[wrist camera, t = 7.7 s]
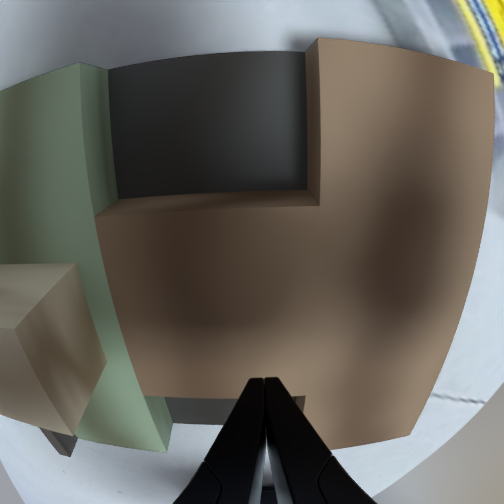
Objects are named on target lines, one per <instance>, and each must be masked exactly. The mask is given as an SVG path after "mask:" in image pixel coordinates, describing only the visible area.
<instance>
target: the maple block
mask: <svg viewBox="0 0 504 504" xmlns="http://www.w3.org/2000/svg"><path fill="white" fill-rule="evenodd" d="M106 364H107V360H106V357H105V354H104V351H103V349H102V346H101V343H100V340H99V337H98V335H97V332H96V329H95V326H94V323H93V319H92V316H91V313H90V310H89V307H88V303H87V300H86V297H85V293H84V290H83V286H82V283H81V279H80V275H79V271H78V267H77V263H51V264H0V414H1V415H4V416H6V417H9V418H12V419H15V420H18V421H21V422H24V423H27V424H30V425H33V426H37V427H40V428H44V429H47V430H51V431H54V432H58V433H62V434H66V435H70V436H74V434H75V432H76V429H77V427H78V425H79V422H80V420H81V418H82V415H83V413H84V411H85V409H86V406H87V404H88V402H89V400H90V398H91V395H92V393H93V391H94V389H95V387H96V385H97V383H98V380H99V378H100V376H101V374H102V372H103V370H104V368H105V366H106Z"/></svg>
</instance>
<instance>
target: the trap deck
mask: <svg viewBox="0 0 504 504" xmlns="http://www.w3.org/2000/svg"><path fill="white" fill-rule="evenodd" d="M494 121H495V98H494V74H493V73H490V72H488V71H485V70H482V69H479V68H476V67H473V66H469V65H466V64H463V63H460V62H456V61H453V60H449V59H445V58H442V57H438V56H434V55H430V54H425V53H421V52H417V51H412V50H407V49H402V48H397V47H391V46H386V45H380V44H373V43H366V42H359V41H350V40H341V39H330V38H317V39H316V40H315V41H314V43H313V44H312V45H311V46H310V47H309V48H308V49H307V50H306V52H281V51H265V52H233V53H217V54H205V55H195V56H186V57H177V58H170V59H163V60H156V61H150V62H144V63H139V64H133V65H128V66H123V67H118V68H114V69H109V70H107V69H103V68H100V67H96V66H92V65H88V64H84V63H76V64H73V65H69V66H66V67H63V68H60V69H57V70H54V71H51V72H48V73H45V74H42V75H39V76H37V77H34V78H31V79H29V80H26V81H24V82H21V83H18V84H16V85H14V86H11V87H9V88H6V89H4V90H2V91H0V264H51V263H77V267H78V271H79V275H80V279H81V283H82V286H83V290H84V293H85V297H86V300H87V303H88V307H89V310H90V313H91V316H92V319H93V323H94V326H95V329H96V332H97V335H98V337H99V340H100V343H101V346H102V349H103V351H104V354H105V357H106V360H107V364H106V366H105V368H104V370H103V372H102V374H101V376H100V378H99V380H98V383H97V385H96V387H95V389H94V391H93V393H92V395H91V398H90V400H89V402H88V404H87V406H86V409H85V411H84V413H83V415H82V418H81V420H80V422H79V425H78V427H77V429H76V432H75V434H74V436H70V435H66V434H62V433H58V432H54V431H51V430H47V429H44V428H40V427H39V428H40V429H41V431H42V432H43V433H44V435H45V436H46V437H47V439H48V440H49V441H50V443H51V444H52V445H53V447H54V448H55V449H56V450H57V452H58V453H59V454H61V455H65V456H68V457H71V454H72V452H73V449H74V447H75V444H76V442H77V439H78V438H79V439H83V440H88V441H93V442H98V443H103V444H108V445H114V446H120V447H126V448H133V449H140V450H148V451H157V452H167V450H168V445H169V440H170V435H171V430H172V425H173V423H183V424H205V425H224V424H225V422H226V420H227V418H228V416H229V415H230V413H231V411H232V409H233V407H234V406H235V404H236V402H237V400H238V398H239V396H240V395H241V393H242V391H243V389H244V387H245V385H246V384H247V382H248V380H249V379H250V378H256V377H262V378H263V379H264V378H265V377H278V378H279V379H280V380H281V381H282V383H283V384H284V386H285V387H286V389H287V390H288V392H289V393H290V395H291V396H292V398H293V399H294V400H295V402H296V403H297V405H298V406H299V408H300V409H301V411H302V412H303V413H304V415H305V416H306V418H307V419H308V420H309V422H310V423H311V425H312V426H313V428H314V429H315V430H316V432H317V433H318V435H319V436H320V437H321V439H322V440H323V442H324V443H325V444H326V446H327V447H328V448H329V450H333V449H341V448H347V447H354V446H360V445H366V444H371V443H376V442H381V441H386V440H391V439H396V438H400V437H404V436H408V435H410V433H411V431H412V430H413V428H414V426H415V424H416V422H417V420H418V418H419V416H420V414H421V412H422V410H423V408H424V406H425V404H426V402H427V400H428V398H429V396H430V394H431V391H432V389H433V387H434V385H435V383H436V380H437V378H438V376H439V373H440V371H441V369H442V366H443V364H444V361H445V359H446V356H447V354H448V351H449V349H450V346H451V343H452V341H453V338H454V335H455V332H456V329H457V326H458V324H459V321H460V318H461V314H462V311H463V308H464V305H465V302H466V298H467V295H468V291H469V288H470V284H471V281H472V277H473V273H474V269H475V265H476V261H477V257H478V252H479V248H480V243H481V238H482V233H483V228H484V222H485V216H486V210H487V204H488V197H489V189H490V181H491V172H492V161H493V147H494Z"/></svg>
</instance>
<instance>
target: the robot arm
mask: <svg viewBox="0 0 504 504" xmlns="http://www.w3.org/2000/svg"><path fill="white" fill-rule="evenodd" d="M266 440H267V449H268V455H269V460H270V465H271V470H272V475H273V481H274V486H275V487H273V488H262V481H263V472H264V463H265V453H266ZM173 504H377V503H376V502H375V501H374V500H373V499H372V498H371V497H370V496H369V495H368V494H367V493H366V492H365V491H364V490H363V489H361V487H360V486H359V485H358V484H357V483H356V482H355V481H354V480H353V479H352V478H351V477H350V476H349V475H348V473H347V472H346V471H345V470H344V468H343V467H342V466H341V465H340V463H339V462H338V461H337V459H336V458H335V456H332V453H331V451H330V450H329V448H328V447H327V446H326V444H325V443H324V442H323V440H322V439H321V437H320V436H319V435H318V433H317V432H316V430H315V429H314V428H313V426H312V425H311V423H310V422H309V420H308V419H307V418H306V416H305V415H304V413H303V412H302V411H301V409H300V408H299V406H298V405H297V403H296V402H295V400H294V399H293V398H292V396H291V395H290V393H289V392H288V390H287V389H286V387H285V386H284V384H283V383H282V381H281V380H280V379H279V378H278V377H265V378H264V379H263V378H262V377H256V378H250V379H249V380H248V382H247V384H246V385H245V387H244V389H243V391H242V393H241V395H240V396H239V398H238V400H237V402H236V404H235V406H234V407H233V409H232V411H231V413H230V415H229V416H228V418H227V420H226V422H225V424H224V425H223V427H222V429H221V431H220V432H219V434H218V436H217V438H216V439H215V441H214V443H213V445H212V446H211V448H210V450H209V452H208V453H207V455H206V457H205V458H204V462H202V463H201V465H200V467H199V468H198V470H197V472H196V473H195V475H194V476H193V478H192V479H191V481H190V482H189V484H188V485H187V487H186V488H185V489H184V490H183V492H182V493H181V494H180V495H179V497H178V498H177V499H176V500H175V501H174V503H173Z"/></svg>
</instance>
